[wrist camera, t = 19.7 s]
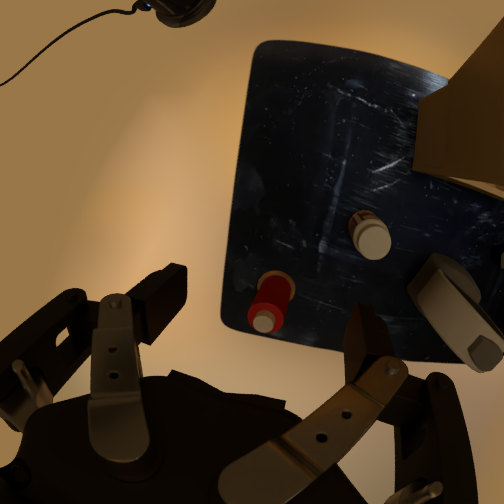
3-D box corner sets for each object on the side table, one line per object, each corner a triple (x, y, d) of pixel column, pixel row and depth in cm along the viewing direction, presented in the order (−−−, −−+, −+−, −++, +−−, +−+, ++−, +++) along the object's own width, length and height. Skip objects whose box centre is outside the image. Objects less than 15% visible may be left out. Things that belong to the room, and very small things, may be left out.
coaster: (252, 293, 44) (251, 294, 44) (267, 263, 42) (266, 264, 41) (284, 309, 44) (284, 311, 43) (302, 281, 41) (301, 282, 41)
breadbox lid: (524, 11, 2) (512, 4, 2) (541, 196, 6) (531, 189, 6) (454, 83, 17) (447, 81, 18) (448, 176, 21) (441, 174, 21)
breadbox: (501, 135, 25) (541, 135, 15) (494, 198, 28) (533, 212, 19) (418, 100, 28) (449, 83, 18) (411, 170, 32) (443, 175, 22)
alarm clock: (483, 288, 33) (535, 349, 17) (449, 331, 37) (483, 403, 21) (430, 237, 34) (491, 293, 17) (392, 289, 38) (424, 369, 21)
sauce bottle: (256, 293, 43) (238, 328, 34) (268, 269, 41) (253, 301, 32) (283, 306, 43) (271, 345, 34) (296, 283, 41) (288, 319, 32)
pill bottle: (362, 248, 37) (371, 271, 30) (341, 224, 37) (346, 242, 29) (386, 227, 35) (401, 245, 28) (365, 202, 35) (377, 214, 27)
